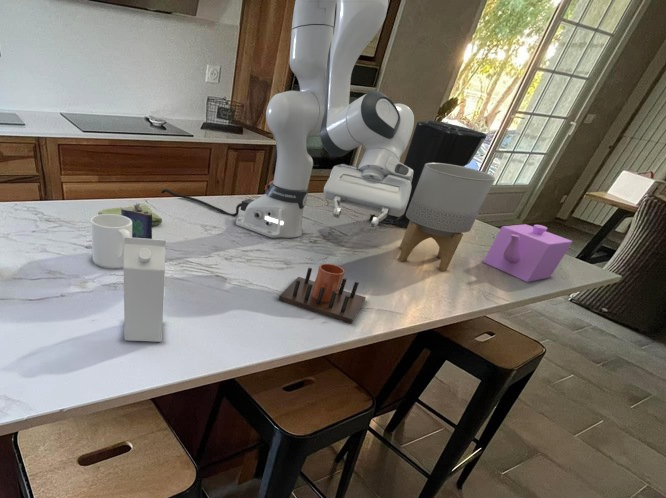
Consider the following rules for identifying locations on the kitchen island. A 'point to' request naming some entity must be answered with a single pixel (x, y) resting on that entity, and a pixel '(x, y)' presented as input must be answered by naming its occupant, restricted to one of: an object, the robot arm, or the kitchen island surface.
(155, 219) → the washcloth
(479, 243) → the kitchen island surface
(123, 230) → the mug
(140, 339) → the milk carton
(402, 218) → the coffee maker
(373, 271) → the kitchen island surface
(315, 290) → the cup
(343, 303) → the rack
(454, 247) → the planter
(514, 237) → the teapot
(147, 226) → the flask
